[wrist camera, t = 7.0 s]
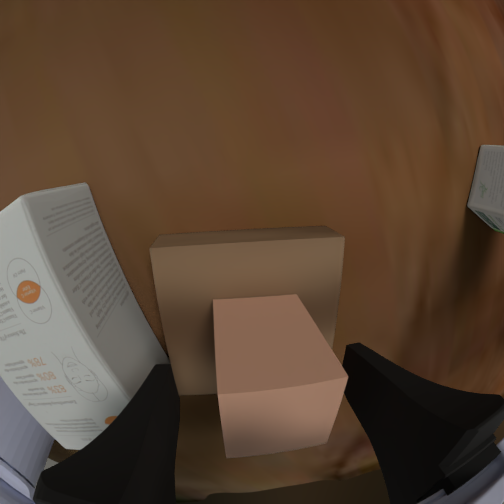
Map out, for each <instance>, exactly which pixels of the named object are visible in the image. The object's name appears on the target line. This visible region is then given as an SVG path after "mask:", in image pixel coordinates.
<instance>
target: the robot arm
mask: <svg viewBox="0 0 504 504" xmlns="http://www.w3.org/2000/svg"><path fill="white" fill-rule="evenodd" d="M342 367H343V368H344V370H345V372H346V373H347V375H348V380H347V383H346V387H345V390H344V394H345V396H346V398H347V400H348V402H349V404H350V406H351V407H352V409H353V411H354V413H355V414H356V416H357V418H358V420H359V421H360V423H361V425H362V427H363V428H364V430H365V432H366V434H367V435H368V437H369V439H370V441H371V444H372V446H373V449H374V451H375V454H376V456H377V459H378V462H379V464H380V467H381V470H382V473H383V476H384V480H385V483H386V486H387V490H388V495H389V499H390V503H391V504H502V503H503V502H504V438H503V439H502V440H501V441H500V442H499V443H498V444H497V445H495V444H494V441H495V440H496V437H495V436H494V434H493V433H494V432H495V430H496V429H497V428H498V426H499V425H500V424H501V422H502V421H503V420H504V399H503V398H502V397H501V396H500V395H495V394H479V393H472V392H466V391H461V390H457V389H453V388H449V387H446V386H442V385H439V384H436V383H434V382H431V381H429V380H426V379H424V378H421V377H419V376H417V375H415V374H413V373H411V372H409V371H407V370H405V369H403V368H401V367H400V366H398V365H396V364H394V363H393V362H391V361H389V360H388V359H386V358H384V357H383V356H381V355H379V354H378V353H376V352H374V351H373V350H371V349H369V348H368V347H366V346H364V345H363V344H361V343H354V344H349V345H346V350H345V355H344V360H343V365H342ZM179 421H180V398H179V394H178V391H177V387H176V383H175V379H174V375H173V371H172V367H171V364H156V365H155V366H154V367H153V368H152V370H151V371H150V373H149V375H148V376H147V378H146V379H145V381H144V382H143V384H142V385H141V387H140V388H139V389H138V391H137V392H136V393H135V395H134V396H133V398H132V399H131V400H130V402H129V403H128V404H127V405H126V407H125V408H124V409H123V410H122V411H121V413H120V414H119V415H118V416H117V417H116V418H115V420H114V421H113V422H112V423H111V424H110V425H109V426H108V427H107V428H106V429H105V430H104V431H103V432H102V433H101V434H99V435H98V436H97V437H96V438H95V439H94V440H93V441H91V442H90V443H89V444H88V445H86V446H85V447H84V448H82V449H81V450H79V451H78V452H76V453H75V454H73V455H72V456H70V457H69V458H67V459H65V460H64V461H62V462H60V463H58V464H56V465H54V466H52V467H50V468H48V469H46V470H44V467H45V464H46V460H47V458H48V455H49V453H50V450H51V447H52V445H53V442H54V438H53V437H52V436H51V435H50V434H49V433H48V432H47V431H46V430H45V429H44V428H43V427H42V426H41V424H40V423H39V422H38V421H37V420H36V419H35V418H34V417H33V416H32V415H31V414H30V413H29V411H28V410H27V409H26V408H25V407H24V406H23V404H22V403H21V402H20V401H19V400H18V398H17V397H16V396H15V395H14V393H13V392H12V391H11V390H10V388H9V387H8V386H7V384H6V383H5V382H4V380H3V379H2V377H1V376H0V504H176V497H175V476H174V469H175V456H176V447H177V438H178V430H179ZM43 470H44V471H43ZM36 484H37V485H36ZM35 487H36V489H35Z"/></svg>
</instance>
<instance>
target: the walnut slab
mask: <svg viewBox="0 0 504 504" xmlns="http://www.w3.org/2000/svg"><path fill="white" fill-rule="evenodd" d="M344 241H345V237H344V236H343V235H341V234H339V233H337V232H335V231H334V230H332V229H330V228H328V227H327V226H307V227H284V228H263V229H244V230H226V231H209V232H193V233H178V234H164V235H159V236H158V237H157V239H156V240H155V241H154V243H153V244H152V246H151V247H150V256H151V263H152V270H153V277H154V283H155V289H156V295H157V301H158V306H159V312H160V317H161V322H162V327H163V332H164V337H165V341H166V346H167V350H168V354H169V359H170V363H171V367H172V371H173V375H174V379H175V383H176V386H177V390H178V394H179V395H205V394H218V392H217V377H216V360H215V340H214V316H213V299H233V298H250V297H265V296H279V295H292V294H297V296H298V297H299V299H300V300H301V302H302V303H303V305H304V306H305V308H306V310H307V311H308V313H309V314H310V316H311V317H312V319H313V321H314V322H315V324H316V325H317V327H318V329H319V330H320V332H321V333H322V335H323V336H324V338H325V340H326V341H327V343H328V344H329V346H330V348H331V349H332V346H333V340H334V334H335V327H336V320H337V312H338V304H339V296H340V287H341V277H342V267H343V255H344Z"/></svg>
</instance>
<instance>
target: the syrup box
mask: <svg viewBox="0 0 504 504" xmlns="http://www.w3.org/2000/svg"><path fill="white" fill-rule="evenodd" d="M467 206H468V208H470V209H471V210H472V211H473V212H474V213H475V214H477V215H478V216H479V217H480V218H481V219H482V220H483V221H484V222H485V223H487V224H488V225H489V226H490V227H491V228H492V229H493V230H495V231H497V232H500V233H503V234H504V146H499V145H481V147H480V151H479V155H478V160H477V164H476V169H475V173H474V179H473V183H472V187H471V192H470V196H469V200H468V204H467Z"/></svg>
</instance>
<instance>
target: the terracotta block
mask: <svg viewBox="0 0 504 504" xmlns="http://www.w3.org/2000/svg"><path fill="white" fill-rule="evenodd" d="M213 316H214V340H215V360H216V377H217V392H218V402H219V410H220V417H221V425H222V432H223V439H224V446H225V453H226V458H235V457H247V456H256V455H265V454H272V453H279V452H285V451H291V450H296V449H302V448H306V447H311V446H316V445H320V444H324V443H327V440H328V438H329V435H330V432H331V429H332V427H333V424H334V421H335V418H336V415H337V412H338V409H339V406H340V403H341V400H342V397H343V393H344V390H345V387H346V383H347V380H348V375H347V373H346V372H345V370H344V368H343V367H342V365H341V364H340V362H339V360H338V359H337V357H336V356H335V354H334V352H333V351H332V349H331V348H330V346H329V344H328V343H327V341H326V340H325V338H324V336H323V335H322V333H321V332H320V330H319V329H318V327H317V325H316V324H315V322H314V321H313V319H312V317H311V316H310V314H309V313H308V311H307V310H306V308H305V306H304V305H303V303H302V302H301V300H300V299H299V297H298V296H297V294H292V295H279V296H265V297H250V298H233V299H213Z"/></svg>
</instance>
